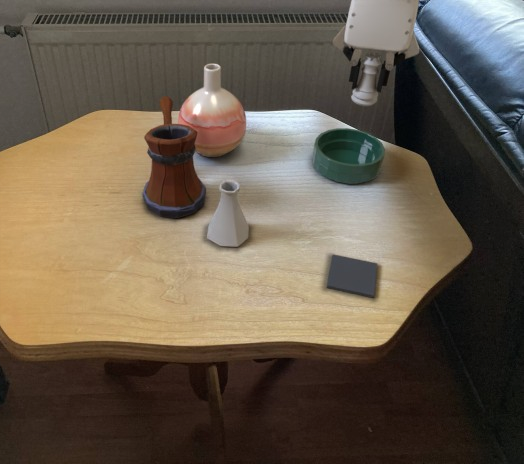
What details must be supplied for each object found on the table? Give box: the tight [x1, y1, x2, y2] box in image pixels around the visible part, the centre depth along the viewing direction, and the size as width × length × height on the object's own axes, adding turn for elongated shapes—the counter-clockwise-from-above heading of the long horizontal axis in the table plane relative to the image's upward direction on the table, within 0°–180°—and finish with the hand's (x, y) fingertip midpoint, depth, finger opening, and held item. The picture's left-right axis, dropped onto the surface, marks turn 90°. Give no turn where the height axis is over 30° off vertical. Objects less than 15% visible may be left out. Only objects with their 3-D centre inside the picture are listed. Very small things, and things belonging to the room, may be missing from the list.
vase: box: [177, 63, 248, 158], centre depth 100 cm, size 14×14×18 cm
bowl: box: [311, 127, 386, 185], centre depth 100 cm, size 13×13×4 cm
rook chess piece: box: [350, 52, 383, 107], centre depth 86 cm, size 4×4×8 cm
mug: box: [141, 95, 207, 219], centre depth 90 cm, size 18×12×15 cm, turn 8°
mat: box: [326, 254, 378, 299], centre depth 79 cm, size 7×7×1 cm
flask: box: [206, 179, 250, 248], centre depth 83 cm, size 7×7×10 cm
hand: (366, 86), depth 87 cm, fingers closed on rook chess piece, 3 cm apart
